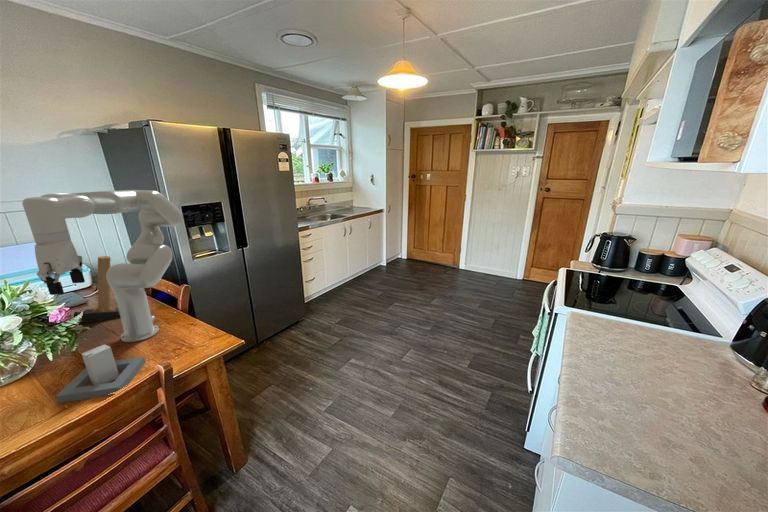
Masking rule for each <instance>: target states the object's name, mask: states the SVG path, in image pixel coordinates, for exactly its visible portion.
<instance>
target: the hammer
mask: <svg viewBox="0 0 768 512" xmlns="http://www.w3.org/2000/svg"><path fill="white" fill-rule="evenodd" d="M110 267H111V256H109V255H102V256H98V257H97V308H90V309H89V308H88V309H87V308H86V309H85V310H83V311H81V312H83V316H82V319H81V320H80V321H81V322H82V323H92V322H93V323H94V322H101V321H106V320H113V319H118V318H120V314H119V310H118V307H112V306H111V287H110V285H109V284H108V282H107V279H106V273H107V271H108V269H109V268H110ZM81 312H79V311H74V313H73V317H75V316H77V315H78V314H80V313H81Z"/></svg>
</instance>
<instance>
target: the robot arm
mask: <svg viewBox="0 0 768 512" xmlns="http://www.w3.org/2000/svg"><path fill="white" fill-rule="evenodd" d="M22 207H23V210H24V213H25V216H26V219H27V221H28V225H29V228H30V231H31V233H32V234H31V235H32V237H33V240H34V243H35V244H34V254H35V255H34V256H35V259H36V264H37V269H38V271H37V272H36V276H37V277H39V279H40V280H41V282H43V283H44V284H46V287H47V290H48V293H49V295H50V296H51V295H52V296H54V295H55V296H58V295H63V294H64V293H65V291H64V288H63V285H62V282H61V281H59V280H60V276H61V275H63V274H66V273H68V272H69V276H70V279H71V281H72V284H81V283H85V282H86V280H85V278H84V274H83V256H81V255H78V253H77V249H76V247H75V246H74V243H73V241H72V238H71V235H70V231H69V228H68V225H67V221H66V219H82V218H86V217H89V216H91V215H94V214H95V215H116V214H122V213H123V214H124V213H132V212H139V213H138V220H139V224H140V228H141V232H140V235H139V236H138V238H137V239H136V241H134V243H133V244H132V245H131V247H130V248H129V250H128V251H127V253H126V256H125V257H126V261H127V262H128V263H117V264H113V265H112V266H110V268H109V269H108V271H107V273H106V279H107V282H108V284H109V285H110V290H112V293H113V295H114V298H115V301H116V305H117V306H116V307H117V308H118V310H119V314H120V317H119V318H120V321H121V325H122V328H123V331H124V332H122V334H121V335H120V340H121V341H122V342H124V343H135V342H139V341H140V342H141V341H143V340H146V339H149V338H152V337H153V336H154V335H157V333H158V332H159V331H160V328H159V326H158V325H156V324H154V323H153V322H154V321H155V319H156V317H155V316H154V315H152V314H151V310H150V305H149V301H148V296H147V293H146V290H145V289H148V288H149V289H150V288H153V287H154V286H156V285H157V284H159V282H160V280H161V279H162V278H163V276H164V274H165V273H166V271H167V269H168V268H169V267H170V265H171V262H172V261H173V250H172V249H171V247H170V246H168V245H166V244H164V241H165V237H164V234H163V232H162V230H161V228H160V227H169V228H170V227H171V228H172V227H177V226H179V225H181V223H182V222H183V215H182V213H181V210H180V209H179V208H178V207H177V206H176V205H174V204H173V203H172V202H171V201H170V200H169V199H168V198H167V197H166V196H164V195H163V194H162V193H160V192H159V191H157V190H151V189H150V190H149V189H147V190H145V189H142V190H141V189H125V190H123V189H122V190H102V191H100V190H99V191H88V192H64V193H63V192H62V193H61V192H60V193H58V192H57V193H45V194H43V195H41V196H35V197H34V196H33V197H26V198H24V199H23V200H22Z"/></svg>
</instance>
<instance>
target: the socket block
mask: <svg viewBox="0 0 768 512" xmlns="http://www.w3.org/2000/svg"><path fill="white" fill-rule="evenodd" d="M114 360H115V363H116V366H117V370H118V372H120V371H122V372H121V373H119V376H118V378H116V379H114V380H113V382H112V381H111V382H108V383H105V384H98V385H93V384H92V385H88V384H89V383H91V380H90V377H89V374H88V371H87V368H86V367H85V368H84V369H83V370H82V371H80V373H78V374H77V376H75V377H74V378H73V379H72V380H71V381H70V382H69V383H68V384H67V385H66V386H65V387H64V388H62V390H60V391H59V392H58V393H57V394H56V395H55V399H56V402H57V404H60V403H69V402H75V401H76V402H77V401H81V400H89V399H94V398H95V399H96V398H101V397H107V396H106V395H108V394H110V393H113V392H116V391H118V390H120V389H122V388H123V387H125V386H126V385H128V386H129V385H130V383H131V382H132V381H133V379H134V378H135V377H136V375H137V374H138V373H139V372H140V370H141V369H142V368H143V367H144V365H145V364H146V358H145V356H138V357H132V358H121V359H114ZM130 381H131V382H130Z"/></svg>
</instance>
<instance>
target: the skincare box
mask: <svg viewBox="0 0 768 512" xmlns="http://www.w3.org/2000/svg"><path fill="white" fill-rule="evenodd" d="M81 356H82V359H83V362H84V365H85V368H87V371H88V374H89V377H90V380H91V381H90V383H91V384H92V385H98V384H105V383H111V382H112V381H115V380H116V379H117V378H118V376H119V375H120V373H119V371H118V370H117V366H116V363H115V360H116V359H115V357H114V354H113V351H112V348H111V346H109V345H107V344H102V345H99V346H97V347H95V348H94V347H93V348H91V349H89V350H87V351H85V352H82V353H81Z"/></svg>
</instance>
